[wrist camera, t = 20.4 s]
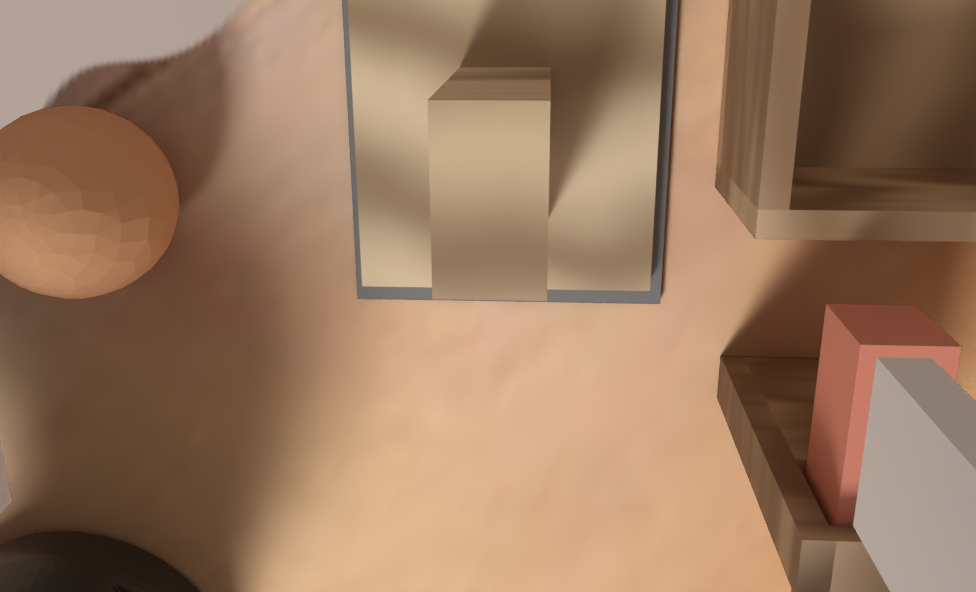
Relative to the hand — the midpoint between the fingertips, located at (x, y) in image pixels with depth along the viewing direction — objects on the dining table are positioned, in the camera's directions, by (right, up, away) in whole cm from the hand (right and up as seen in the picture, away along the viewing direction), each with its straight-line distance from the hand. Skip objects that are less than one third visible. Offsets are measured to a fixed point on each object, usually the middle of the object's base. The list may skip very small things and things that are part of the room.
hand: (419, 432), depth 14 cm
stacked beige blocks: (+2, +12, +23) cm, 26 cm away
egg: (-15, +7, +26) cm, 31 cm away
